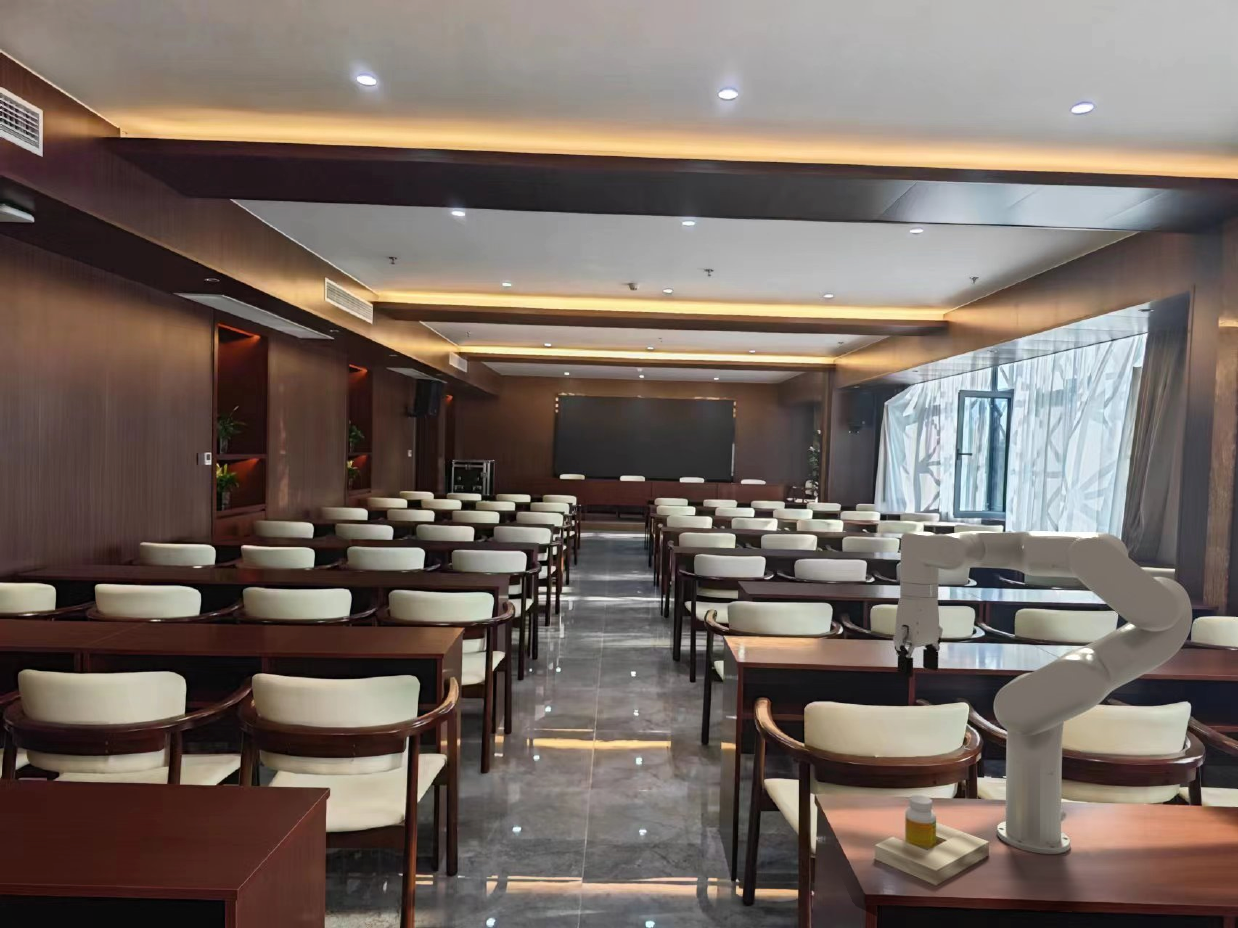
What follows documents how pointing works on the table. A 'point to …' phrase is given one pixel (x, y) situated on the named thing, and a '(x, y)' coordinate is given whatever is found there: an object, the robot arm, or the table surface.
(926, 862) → the notched board
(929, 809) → the supplement bottle
